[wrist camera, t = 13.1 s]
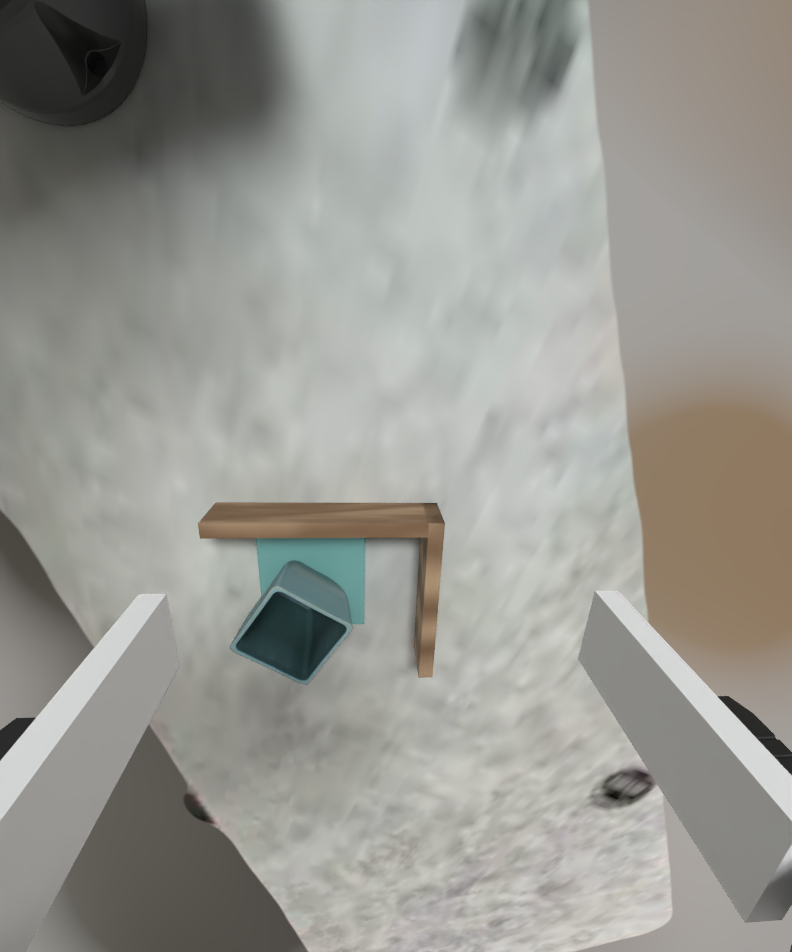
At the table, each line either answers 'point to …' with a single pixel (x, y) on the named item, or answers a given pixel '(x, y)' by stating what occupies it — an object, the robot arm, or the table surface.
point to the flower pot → (295, 623)
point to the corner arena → (349, 524)
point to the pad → (318, 564)
